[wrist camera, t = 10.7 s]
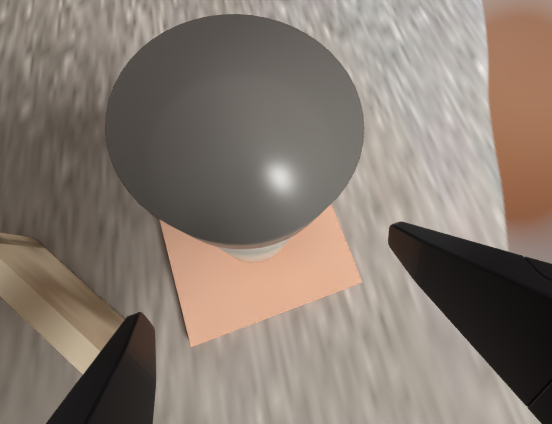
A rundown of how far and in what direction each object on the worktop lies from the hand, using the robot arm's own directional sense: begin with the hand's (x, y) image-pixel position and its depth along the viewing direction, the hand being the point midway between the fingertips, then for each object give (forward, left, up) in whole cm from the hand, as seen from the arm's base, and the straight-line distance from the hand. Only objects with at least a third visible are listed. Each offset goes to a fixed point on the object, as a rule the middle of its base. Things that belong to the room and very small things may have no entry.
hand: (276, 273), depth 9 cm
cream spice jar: (+1, -3, -8) cm, 9 cm away
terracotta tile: (+1, -3, -9) cm, 10 cm away
